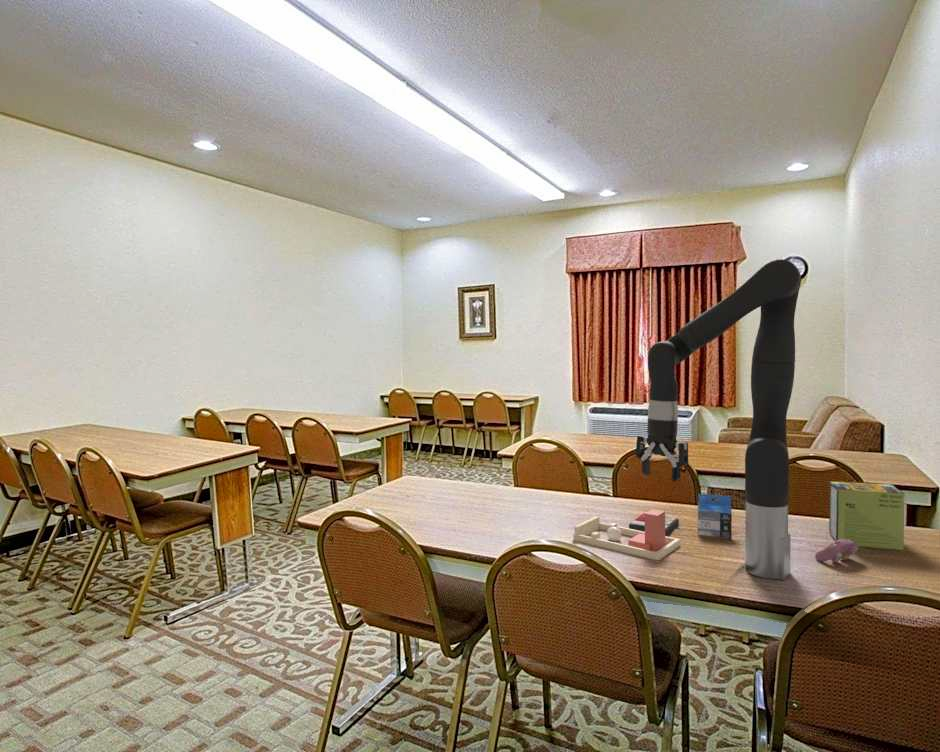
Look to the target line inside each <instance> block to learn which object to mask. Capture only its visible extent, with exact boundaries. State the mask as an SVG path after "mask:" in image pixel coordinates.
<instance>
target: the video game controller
mask: <svg viewBox="0 0 940 752" xmlns="http://www.w3.org/2000/svg"><path fill="white" fill-rule="evenodd" d="M859 547H860V546H858V545H857V544H856V543H855V542H853V541H850V539H848V540H844V539H840V540H837V541H834V542H832V543H829V544H828V545H827V546H826V547H825V548H823V549H821V550H819V551H817V552H816V553H815V554H814V558H815V559H816V561H818V562H822V563H823V562H827V561H829V560H831V561H832V562H833V563H838V562H839V561H840V560H841V561H847V560H848V558H849V557H851V556H852V555H853V554H854V553H856V552H857V551H858V549H859Z"/></svg>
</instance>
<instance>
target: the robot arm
mask: <svg viewBox="0 0 940 752" xmlns="http://www.w3.org/2000/svg"><path fill="white" fill-rule="evenodd" d="M801 284H802V275H801V273H800V271H799V268H798V267H797V266H796V265H795V264H794V263H793V262H792V261H789V260H787V259H782V258H780V259H779V258H777V259H772V260H770V261H768V262H766V263H764V264H763V265H762V266H761V267H760V268H759V269H758V270H757V271H756V272H755V273H754V274H753V275H752V276H751V277H749V278H748V279H747V280H746V281H745V282H744V283H743V284H741V286H739V287H738V288H737V289H736V290H734V291H733V292H732V293H731V294H729V295H728V296H726V297H725V298H723V299H722V300H721V301H719V302H718V303H716V304H715V305H713V306H712V307H710V308H709V309H707V310H705V311H704V312H702V313H701V314H699V315H698V316H696V317H694V318H693V319H692V320H691V321H689V322H688V323H686V324H685V325H683V326H682V327H681V328H680V330H679V331H678V332H677V333H676V334H674V335H673V336H671V337H670V338H668V339H667V340H665V341H658V342H655V343H654V344H653V345H652V346H650V349H649V350H648V354H647V368H648V375H649V377H648V378H649V382H650V383H649V385H650V386H649V399H648V401H649V402H648V407H647V428H646V429H647V430H646V432H647V436H646V435H639V436H637V437H636V443H635V444H636V445H635V457H636V458H638V459H640V460H641V461H642V462H641V472H642V475H644V476H649V475H651V460H650V459H652V457H653V456H654V455H655V456H659V455H660V456H661V457H666V459H667V460H668V461H670V463H671V481H672V482H677V481H679V480H680V479H681V470H682V469H681V468H682V467H683V466H687V465H689V443H688V442H687V441H683V442H680V441H679V442H678V441H677V436H678V425H679V424H678V422H679V421H678V418H679V416H678V415H679V406H678V397H679V393H678V390H679V387H678V386H679V385H678V381H677V380H676V366H677V365H679V364H681V363H682V362H683V361H685V360H686V359H687V358H689V357H690V356H691V355H692V354H694V353H695V352H696V351H698V350H699V349H701V348H703V347H705V346H706V345H708V344H709V343H711V342H713V341H714V340H715V339H716V338H719V337H720V336H721V335H722V334H724V333H725V332H726V331H728V330H729V329H730V328H731V327H733V326H734V325H735V324H736V323H738V322H739V321H740V320H741V319H742V318H744V317H746V316H747V315H748V314H750V313H751V312H754V310H757V309H758V308H760V319H759V325H758V330H757V333H756V337H755V341H754V346H753V350H752V351H753V352H752V355H751V356H752V357H751V368H750V369H751V371H750V393H751V401H752V423H751V428H750V434H749V439H748V444H747V446H746V450H745V455H744V456H745V457H744V479H745V480H744V485H745V486H744V490H745V491H744V493H745V528H744V530H745V532H744V533H745V549H744V550H745V552H744V553H745V559H744V561H745V566H744V567H745V571H746V572H747V573H749V574H750V575H753V576H754V577H755V576H756V577H758V578H763V579H770V580H780V581H781V580H783V581H785V580H786V578H787V577H788V576H789V575H790V574H791V534H790V533H789V494H790V488H789V487H790V484H789V483H790V456H789V450H788V444H787V443H788V442H787V440H788V439H787V414H788V409H789V405H790V402H791V398H792V393H793V386H794V380H795V368H796V364H795V363H796V335H795V333H796V332H795V315H796V309H797V302H798V297H799V292H800V289H801ZM646 444H647V445H648V447H647V448H646ZM676 449H677V451H678V453H677V451H676Z"/></svg>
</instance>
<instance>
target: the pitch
mask: <svg viewBox="0 0 940 752" xmlns="http://www.w3.org/2000/svg"><path fill="white" fill-rule="evenodd" d="M610 527H617V528H619V529H620V531H621V535H625V536H631V537H634V536H636V535H638V534H645V532H643V531H638V530H633V529H629V527H623V526H618V523H615V522H610V523H609V524H608V523H605V522H600V516H597V515H596V516H594V517H591V518H590V519H587V520H585V521H583V522H581V523H579V524H577V525H574V533H573V534H572V535H573V536H572V538H573V541H575V542H579V543H584V544H589V545H591V546H592V545H593V546H596V547H601V548H605V549H609V550H613V551H618V552H622V553H626V554H629V555H634V556H639V557H643V558H646V559H650V560H655V561H660V560H662V559H663V558H665V557H666V556H668V555H669V554H670V553H671V552H673V551H674V550H676V549H677V548H679V547H680V546H681V539H680V538H676V537H671V536H665V546H664V547H663V548H661V549H660V550H658V551H657V552H654V551H650V550H645V549H641V548H637V547H632V546H628V544H622V543H619V542H616V541H611V540H610V541H609V540H606V539H601V533H600V532H598V531H599V530H602V531H606V532H607V531H608V529H609V528H610ZM589 535H590V536H589Z"/></svg>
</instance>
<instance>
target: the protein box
mask: <svg viewBox="0 0 940 752" xmlns="http://www.w3.org/2000/svg"><path fill="white" fill-rule="evenodd" d="M905 495H906V494H905V493H904V492H903V491H902V490H900V489H898V488H897V487H896V486H894V485H892V484H888V483H870V482H869V483H868V482H845V481H829V521H828V523H829V525H828V529H829V532H830V533H829V532H828V533H829V535H830V534H831V535H832V536H831V535H830V536H831V537H832V539H833V538H834V539H835V540H834V539H833V540H834V542H836V541H837V540H840V539H844V540H848V539H850V541H853V542H855V543H856V544H857V545H858V546H859V547H861V548H862V547H863V548H872V549H873V548H874V549H884V550H886V549H887V550H897V551H904V547H905V544H904V542H905V538H904V537H905V536H904V534H905Z"/></svg>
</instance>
